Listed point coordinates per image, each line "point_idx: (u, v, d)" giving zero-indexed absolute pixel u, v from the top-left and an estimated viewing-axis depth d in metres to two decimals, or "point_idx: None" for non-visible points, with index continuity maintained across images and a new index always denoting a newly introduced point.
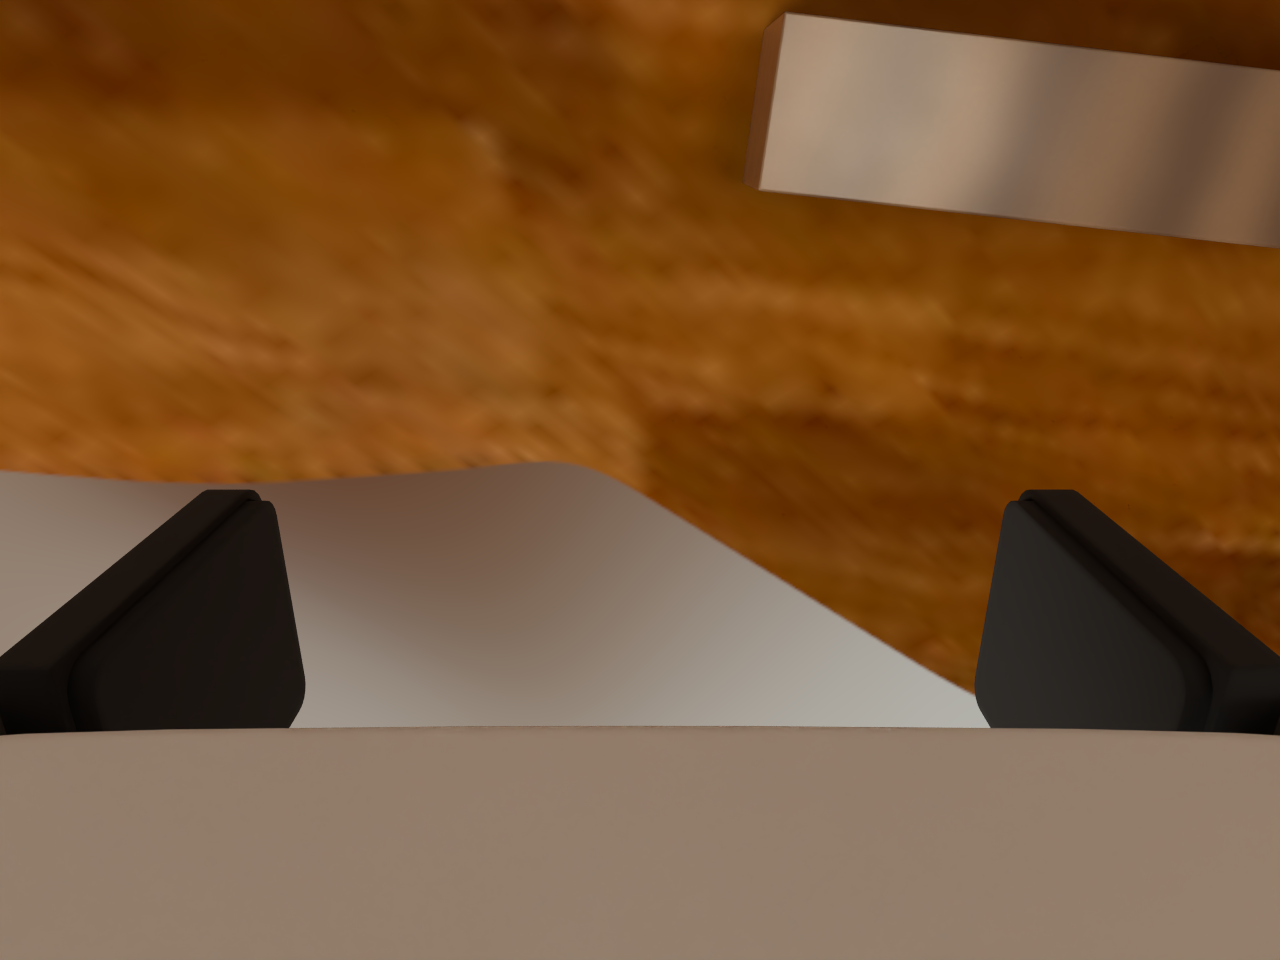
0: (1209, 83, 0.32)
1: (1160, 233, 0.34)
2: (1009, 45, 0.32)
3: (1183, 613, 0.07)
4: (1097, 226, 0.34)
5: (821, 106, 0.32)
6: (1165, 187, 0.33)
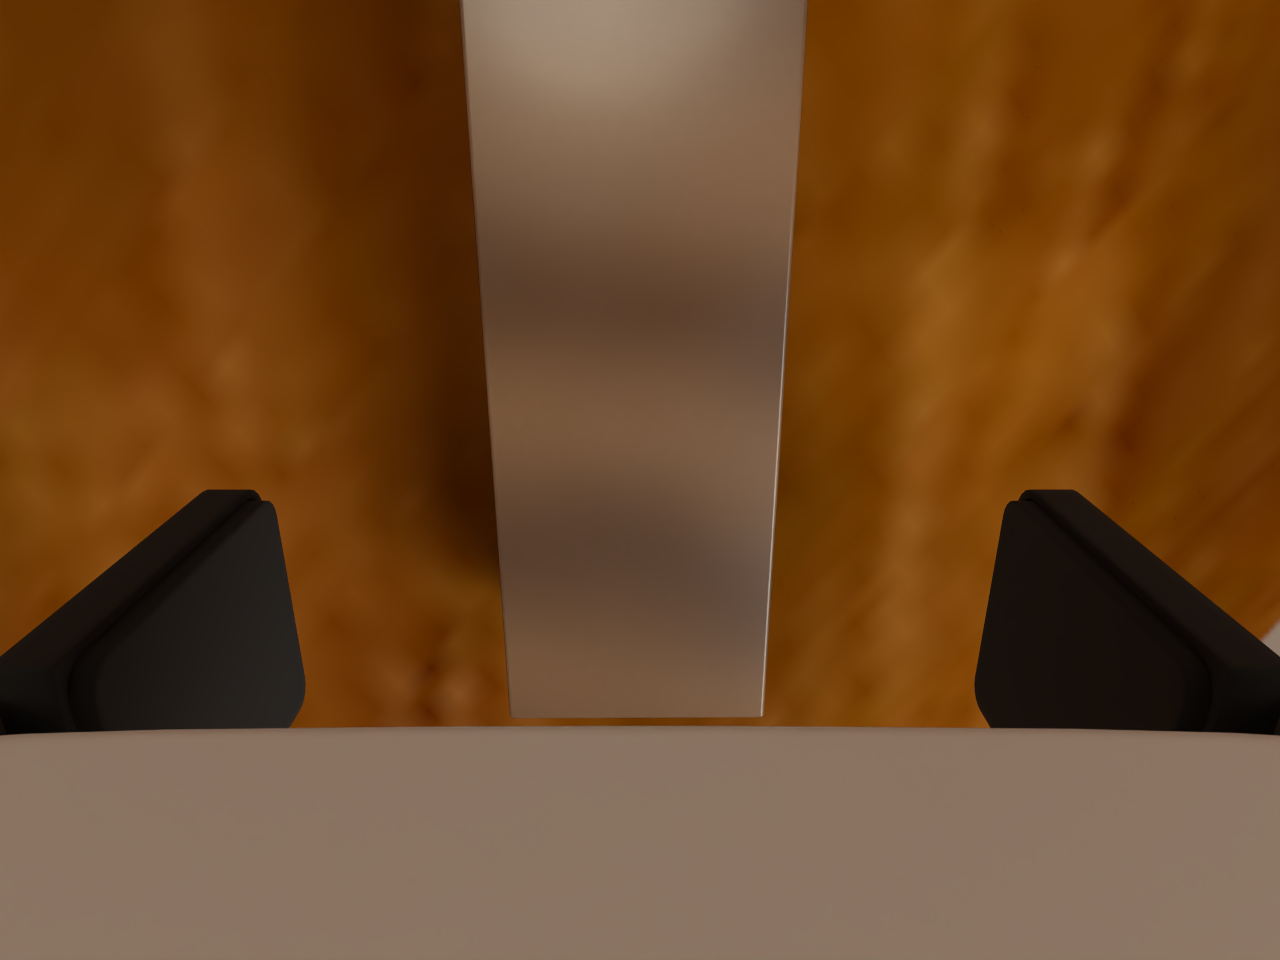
0: None
1: None
2: (497, 386, 0.18)
3: (1183, 613, 0.07)
4: (797, 116, 0.16)
5: (631, 653, 0.20)
6: None
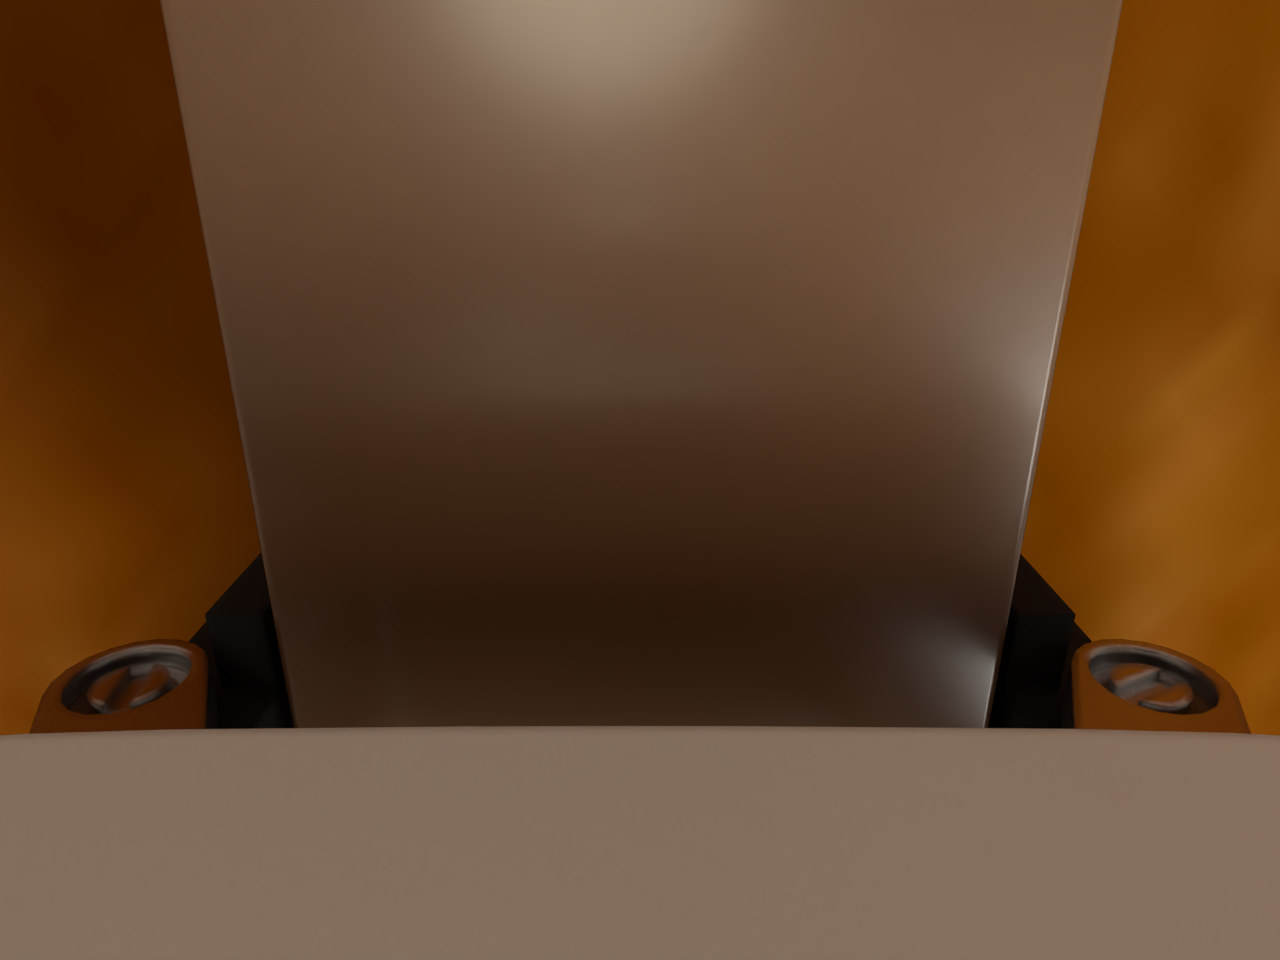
0: None
1: None
2: None
3: None
4: (1100, 94, 0.06)
5: None
6: None
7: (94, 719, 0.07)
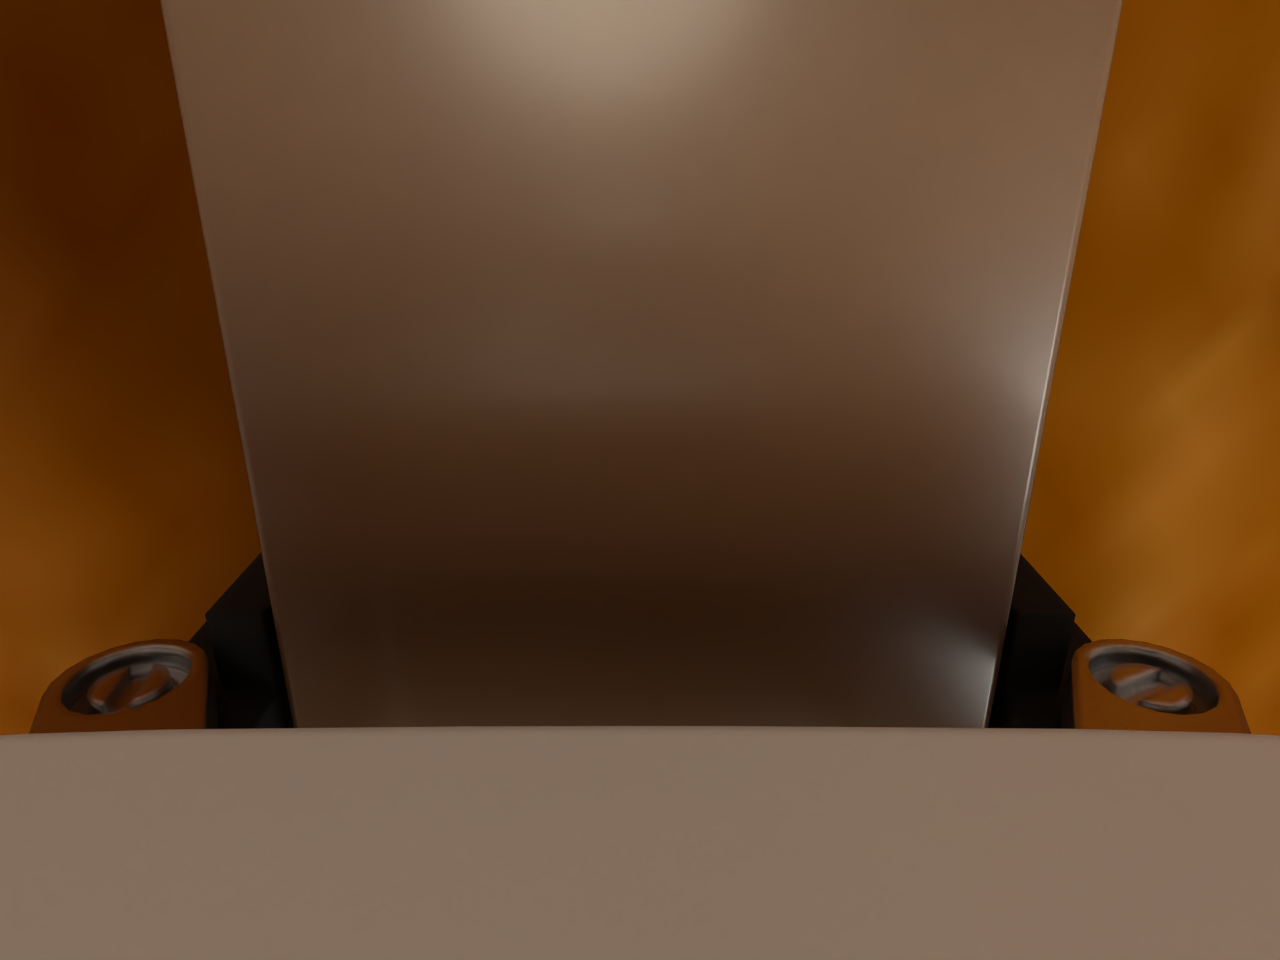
0: None
1: None
2: None
3: None
4: (1100, 94, 0.06)
5: None
6: None
7: (94, 719, 0.07)
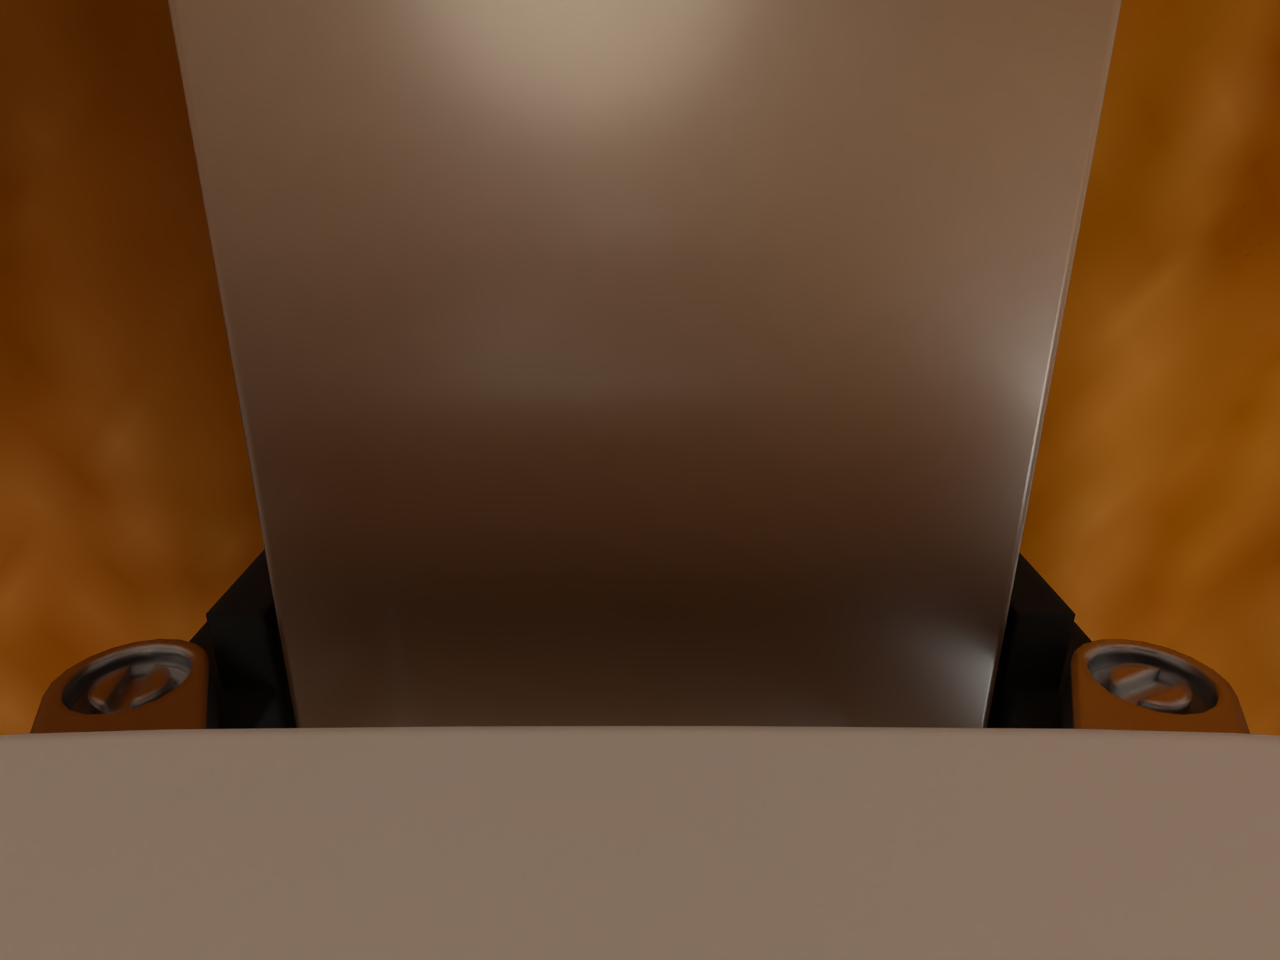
0: None
1: None
2: (319, 726, 0.08)
3: None
4: (1099, 94, 0.06)
5: None
6: None
7: (95, 719, 0.07)
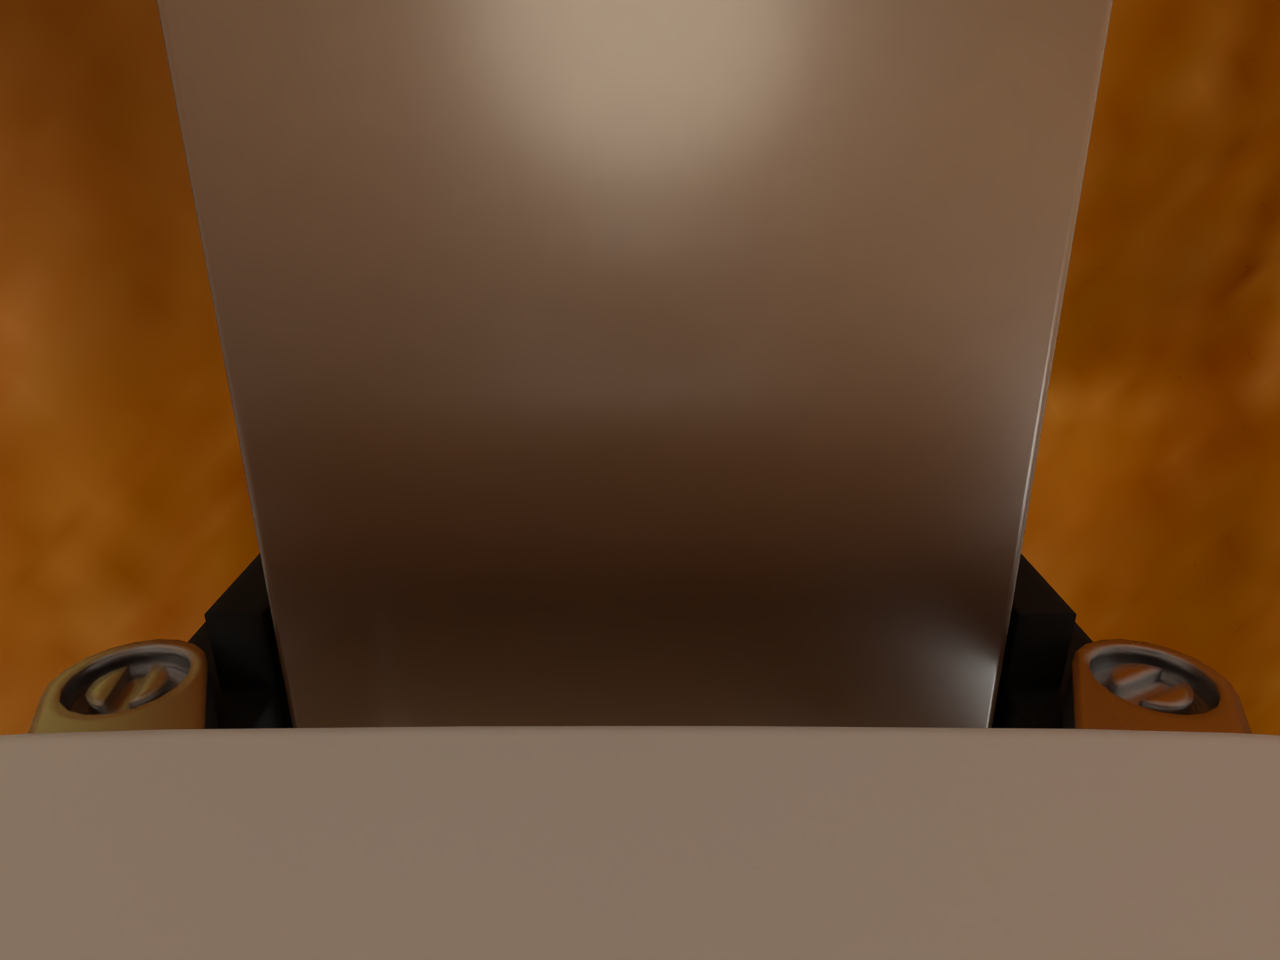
0: None
1: None
2: None
3: None
4: (1095, 78, 0.06)
5: None
6: None
7: (93, 719, 0.07)
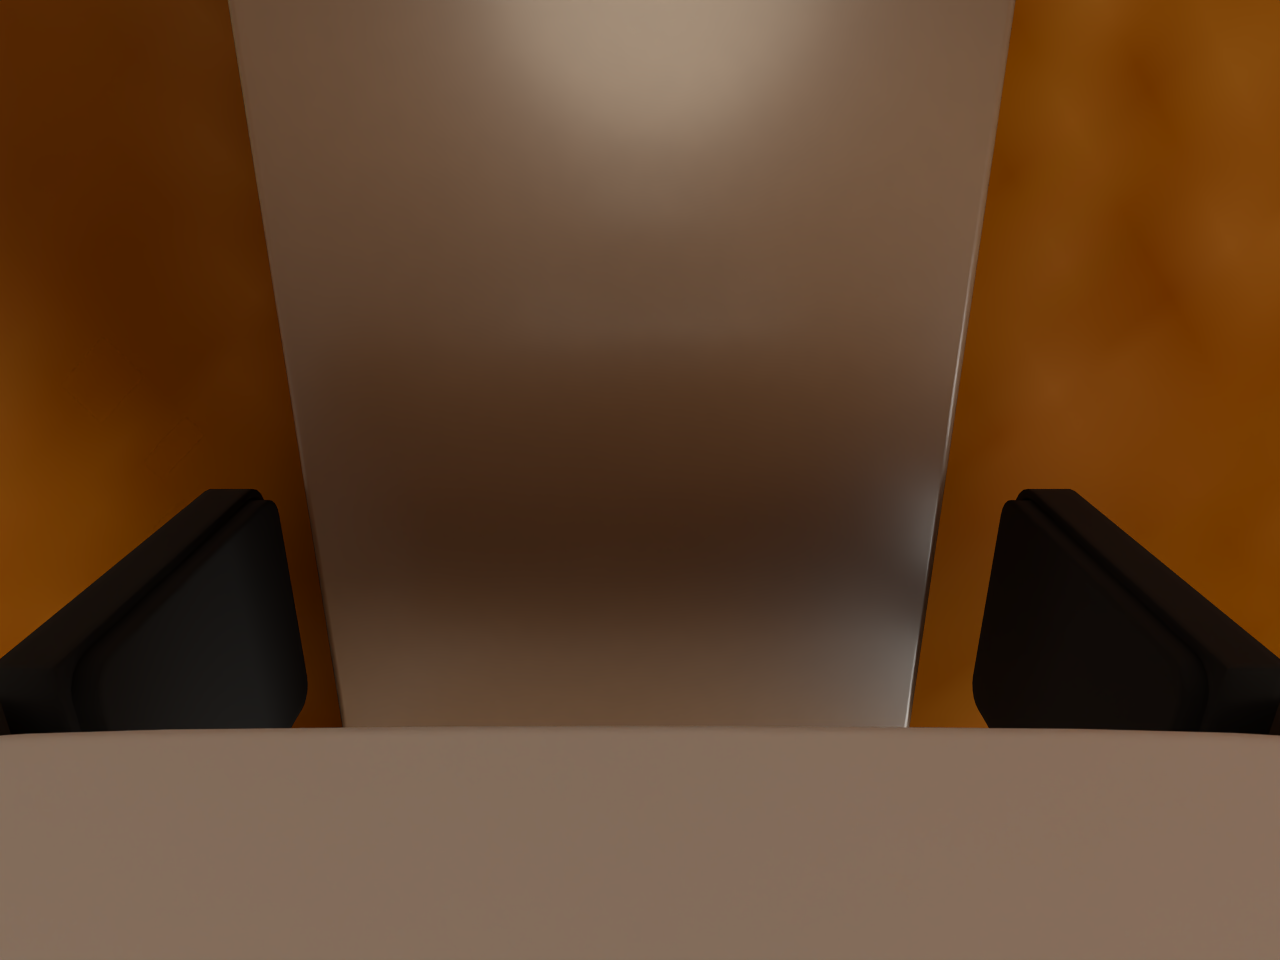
0: None
1: None
2: (352, 662, 0.09)
3: (1180, 612, 0.08)
4: (991, 133, 0.07)
5: None
6: None
7: None
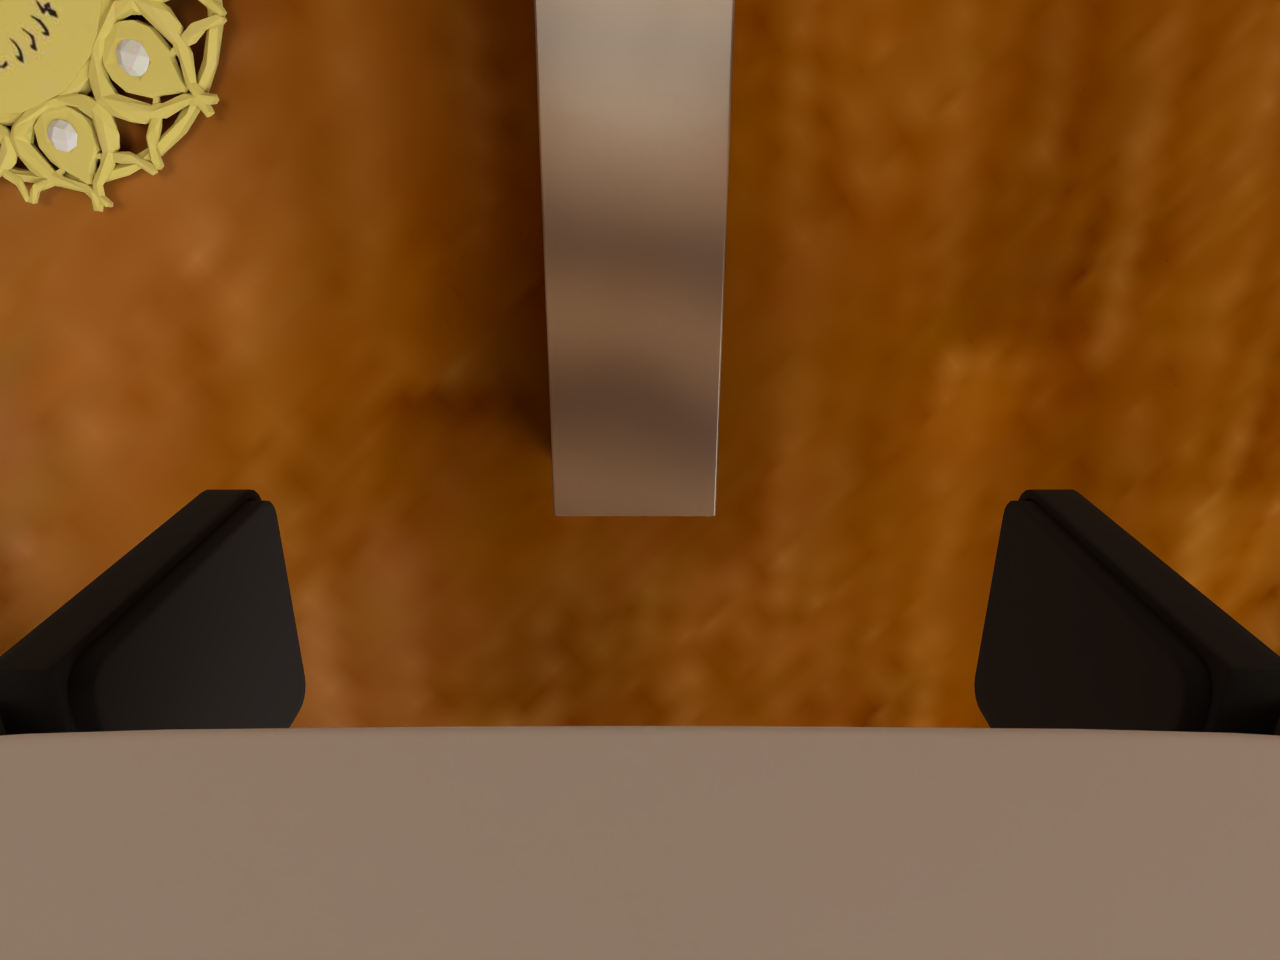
0: (557, 47, 0.27)
1: (731, 48, 0.27)
2: (552, 296, 0.30)
3: (1183, 613, 0.07)
4: (727, 136, 0.28)
5: (631, 470, 0.32)
6: (676, 61, 0.27)
7: None
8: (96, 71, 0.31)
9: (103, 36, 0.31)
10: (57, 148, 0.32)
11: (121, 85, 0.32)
